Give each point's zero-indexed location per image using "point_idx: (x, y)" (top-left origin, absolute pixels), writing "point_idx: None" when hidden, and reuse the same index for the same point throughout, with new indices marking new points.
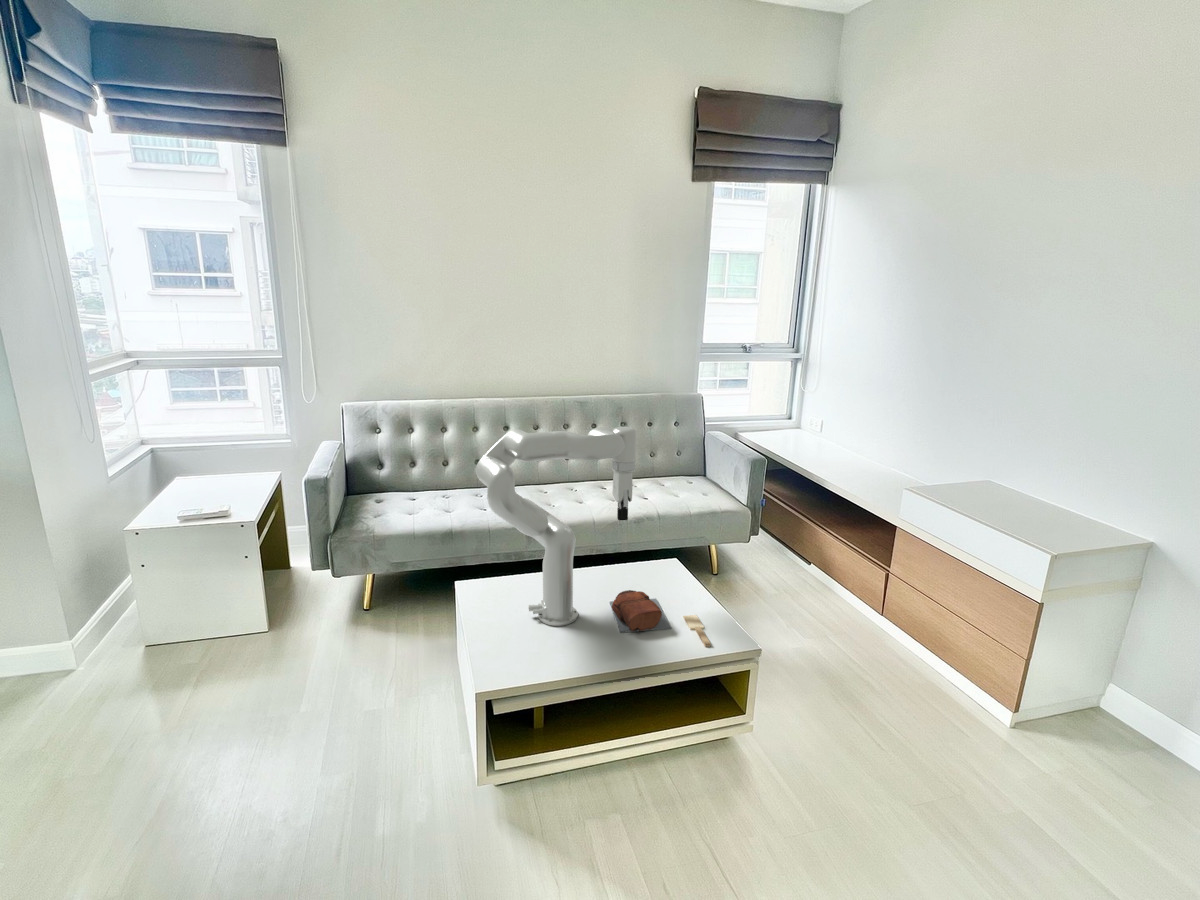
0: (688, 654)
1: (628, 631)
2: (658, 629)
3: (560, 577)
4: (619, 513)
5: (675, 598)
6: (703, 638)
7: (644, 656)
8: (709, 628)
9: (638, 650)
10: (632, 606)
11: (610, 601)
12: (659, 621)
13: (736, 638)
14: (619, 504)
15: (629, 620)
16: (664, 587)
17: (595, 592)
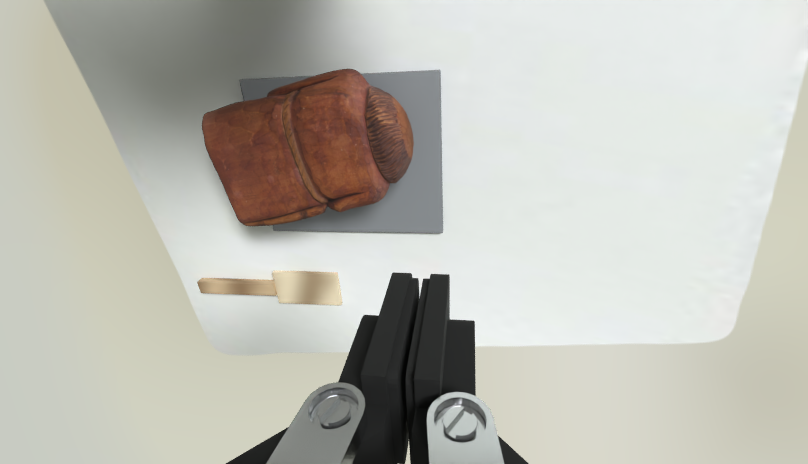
0: (166, 234)
1: None
2: None
3: None
4: (377, 336)
5: None
6: (221, 285)
7: (133, 128)
8: (284, 311)
9: (158, 117)
10: (254, 141)
11: (439, 74)
12: None
13: (247, 345)
14: (312, 460)
15: (205, 114)
16: (524, 275)
17: (542, 19)
